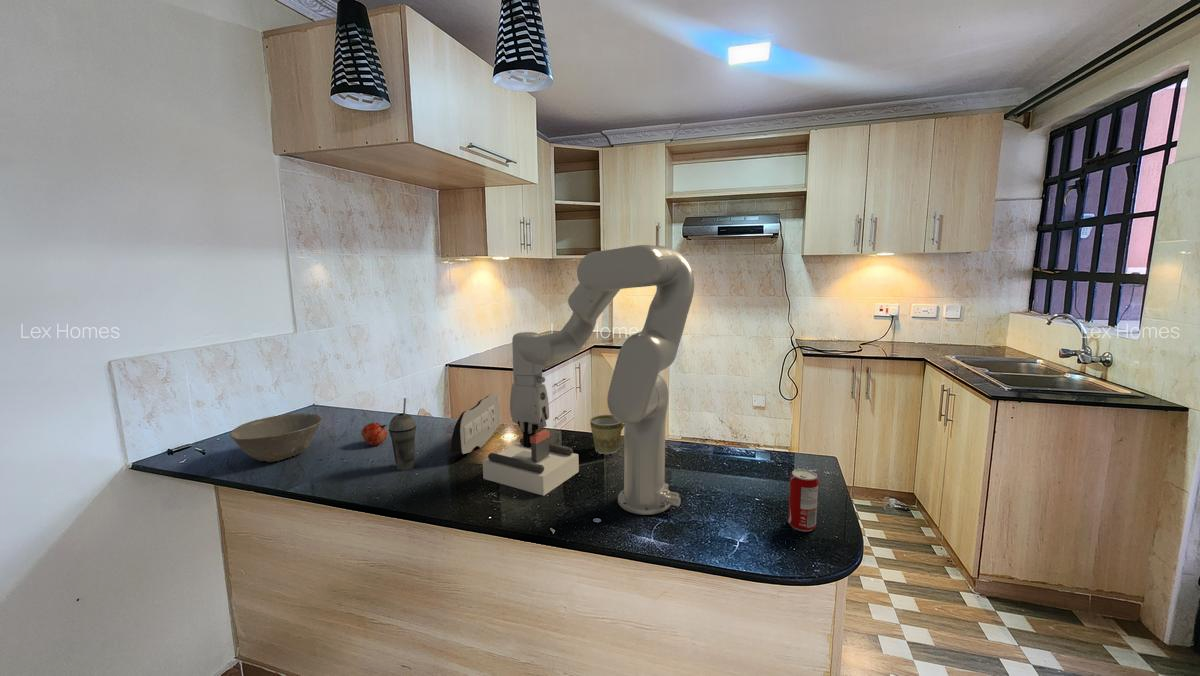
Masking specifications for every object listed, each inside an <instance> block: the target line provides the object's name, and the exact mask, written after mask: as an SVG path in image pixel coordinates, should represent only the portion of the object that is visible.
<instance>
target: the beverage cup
mask: <svg viewBox="0 0 1200 676" xmlns="http://www.w3.org/2000/svg"><path fill="white" fill-rule="evenodd" d="M406 406H407V398H406V397H404V398H403V409H402V411H403V412H402V413H397V414H396V415H394V416H393V417H392V418H391V420H390V422H389V426H388V433H389V436H390V438H391V444H392V448H393V449H392V451H393V455H394V461H395V465H396V469H397V470H399V471H407V470H411V469H412V468H414V466H415V449H416V447H415V443H416V442H415V440H416V438H415V437H416V431H417V424H416V420H415V418H414V417H412V416H411V415H410V414H408V413H406Z"/></svg>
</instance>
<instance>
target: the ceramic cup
mask: <svg viewBox="0 0 1200 676" xmlns="http://www.w3.org/2000/svg"><path fill="white" fill-rule="evenodd" d="M589 424H590V428H591V434H592V438H593V439H592V440H593V444H594V449H595V452H596V453H597V452H598V454H599V455H601V454H604V455H603V456H610V455H609V454H612V455H615V454H614V453H616V452H617V453H618V451H619V447H620V446H619V445H620V442H621V441H622V439H624V435H623V436H622V435H621V434H622V430H623V429H624V427H625V424H623V423H620V422H618V421H617V420H616V419H615V418H614V417H613V416H612V415H611V414H599V415H595V416H592V417H591V418H590V419H589ZM617 453H616V454H617Z"/></svg>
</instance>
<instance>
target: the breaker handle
mask: <svg viewBox="0 0 1200 676" xmlns="http://www.w3.org/2000/svg"><path fill="white" fill-rule="evenodd" d="M550 436H551V432H550V430H546V429H542V430H541V431H539V432H537V433H536V434H534V435H532V436H530V443H531V454H532V461H535V462H537V461H539V460H541V459H543V458H544V457H546V456H548V455H549V443H550Z"/></svg>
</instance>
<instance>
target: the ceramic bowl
mask: <svg viewBox="0 0 1200 676" xmlns="http://www.w3.org/2000/svg"><path fill="white" fill-rule="evenodd" d="M322 421H323V418H322V417H321V416H320V415H318V414H315V413H296V414H295V413H291V414H290V413H289V414H279V415H273V416H268V417H263V418H260V419H255V420H251V421H248V422H246V423H243V424H240V425H239V426H237V427H235V428H233V430H232V431H231V432H230V438H231V439H232V440H233V441H234V442H235V443H236V444H237V446H239V448H240V449H241V450H242V451H243V452H244V453H245V454H246V455H248V456H250V458H253V459H255V460H257V461H260V462H263V461H266V462H265V463H276V462H275V461H277V462H280V461H279V460H282V461H284V460H283V459H285V460H287V459H286V458H288V459H290V458H293V457H296V456H297V455H300V454H301V453H303V452H304V451H305V450H307V448H308V447H309V446H310V443H311V441H312V439H313V437H314V435H315V433H316V431H317V430H318V428H319V427H320V425H321V424H322ZM299 453H300V454H299ZM292 456H293V457H292ZM289 457H290V458H289Z"/></svg>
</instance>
